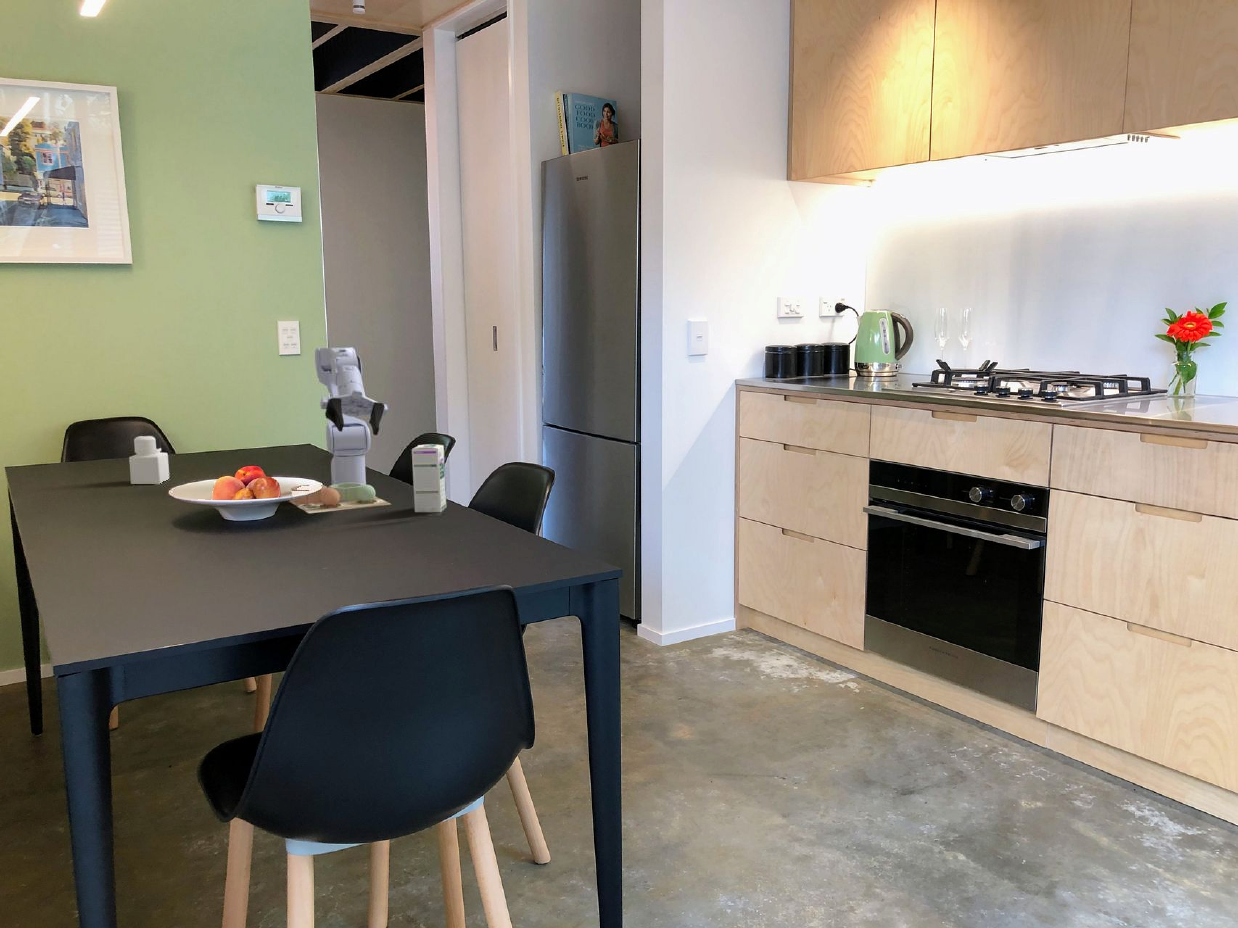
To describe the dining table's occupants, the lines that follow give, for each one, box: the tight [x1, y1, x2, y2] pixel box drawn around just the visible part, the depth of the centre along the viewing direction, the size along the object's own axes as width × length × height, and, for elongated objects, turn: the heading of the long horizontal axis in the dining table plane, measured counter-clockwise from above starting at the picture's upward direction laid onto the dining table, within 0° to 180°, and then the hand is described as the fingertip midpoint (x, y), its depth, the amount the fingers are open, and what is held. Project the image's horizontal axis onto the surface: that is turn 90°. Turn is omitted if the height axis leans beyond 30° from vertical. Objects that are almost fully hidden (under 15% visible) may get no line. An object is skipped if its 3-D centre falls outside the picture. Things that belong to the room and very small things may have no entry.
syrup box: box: [411, 443, 447, 516], centre depth 206 cm, size 6×6×14 cm
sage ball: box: [357, 484, 376, 502], centre depth 215 cm, size 4×4×4 cm
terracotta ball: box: [320, 487, 340, 506], centre depth 210 cm, size 4×4×4 cm
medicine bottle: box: [128, 434, 170, 485], centre depth 246 cm, size 7×7×12 cm
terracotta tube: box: [290, 484, 328, 504], centre depth 217 cm, size 7×7×3 cm
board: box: [288, 496, 392, 514], centre depth 216 cm, size 18×18×1 cm
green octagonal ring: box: [329, 483, 364, 502], centre depth 220 cm, size 7×7×3 cm
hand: (359, 429), depth 211 cm, fingers open, 7 cm apart
